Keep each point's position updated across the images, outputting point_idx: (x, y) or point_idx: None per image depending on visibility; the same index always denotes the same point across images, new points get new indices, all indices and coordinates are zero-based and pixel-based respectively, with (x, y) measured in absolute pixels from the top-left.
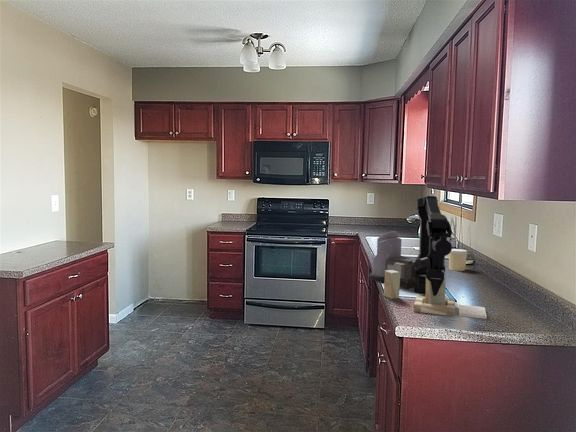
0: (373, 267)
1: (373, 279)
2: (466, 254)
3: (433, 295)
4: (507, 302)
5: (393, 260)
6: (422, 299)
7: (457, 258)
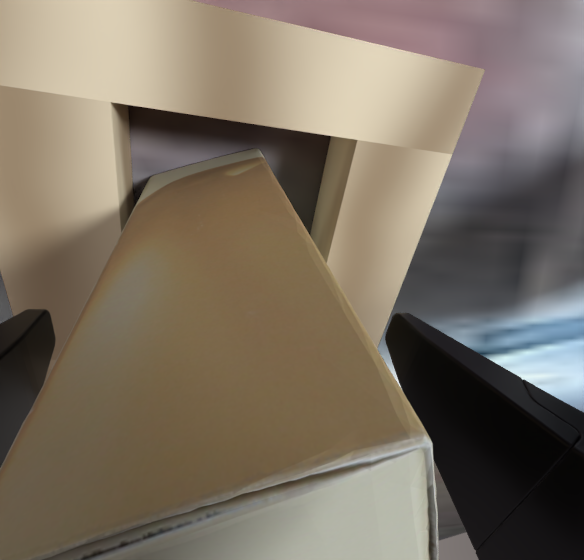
0: None
1: None
2: None
3: (28, 312)
4: (437, 505)
5: None
6: (320, 130)
7: None
